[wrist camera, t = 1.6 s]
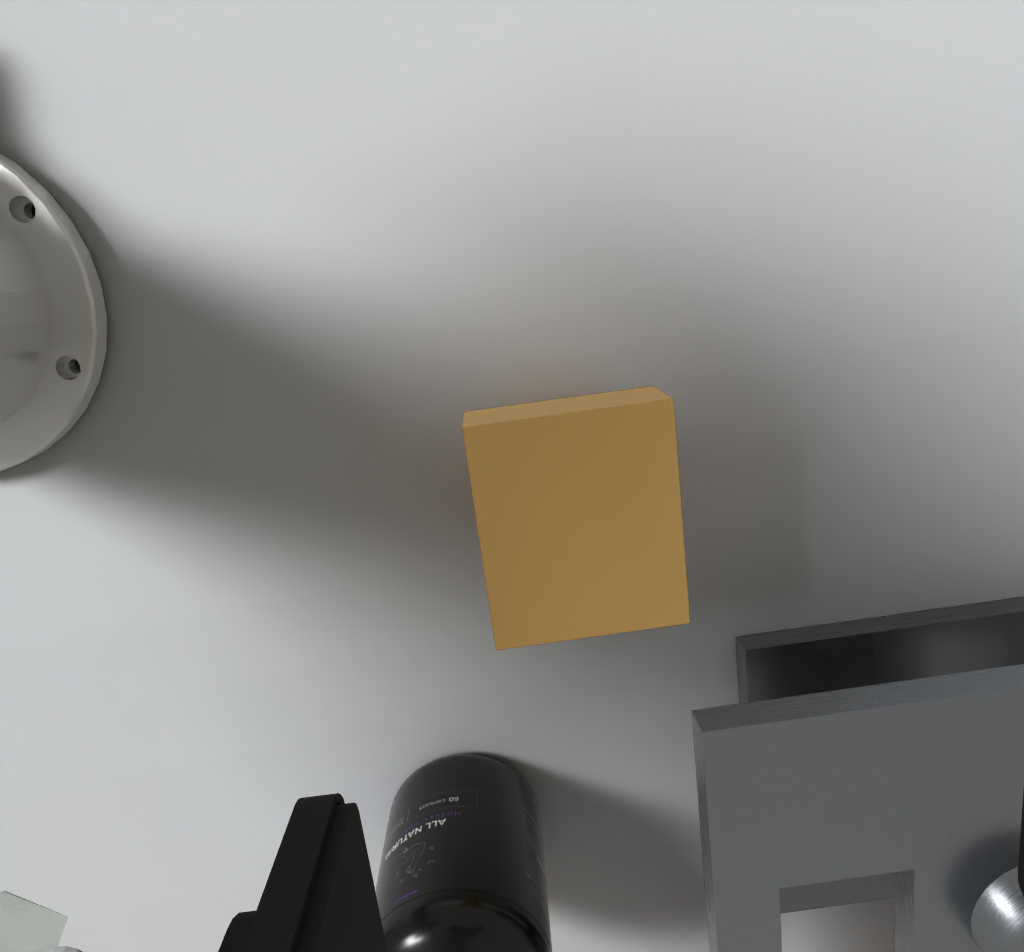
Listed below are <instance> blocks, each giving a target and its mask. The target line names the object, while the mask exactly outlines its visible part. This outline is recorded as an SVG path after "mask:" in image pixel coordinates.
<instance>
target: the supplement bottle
mask: <svg viewBox="0 0 1024 952" xmlns="http://www.w3.org/2000/svg"><path fill="white" fill-rule="evenodd" d="M376 897H377V902H378V907H379V912H380V917H381V922H382V926H383V931H384V936H385V941H386V946H387V951H388V952H552V943H551V932H550V921H549V910H548V899H547V888H546V878H545V867H544V856H543V845H542V834H541V825H540V816H539V810H538V805H537V802H536V799H535V797H534V794H533V792H532V791H531V789H530V787H529V786H528V784H527V783H526V781H525V780H524V779H523V778H522V777H521V776H520V775H519V774H518V773H517V772H515V771H514V770H513V769H511V768H510V767H509V766H507V765H505V764H504V763H501V762H499V761H497V760H494V759H492V758H488V757H485V756H480V755H472V754H460V755H451V756H446V757H442V758H439V759H436V760H434V761H432V762H429V763H427V764H426V765H424V766H422V767H421V768H419V769H418V770H416V771H415V772H414V773H413V774H412V775H410V777H409V778H408V779H407V780H406V781H405V782H404V783H403V785H402V786H401V788H400V789H399V791H398V792H397V794H396V796H395V799H394V802H393V805H392V808H391V812H390V817H389V822H388V826H387V832H386V837H385V842H384V848H383V853H382V859H381V864H380V870H379V875H378V881H377V886H376Z"/></svg>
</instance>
